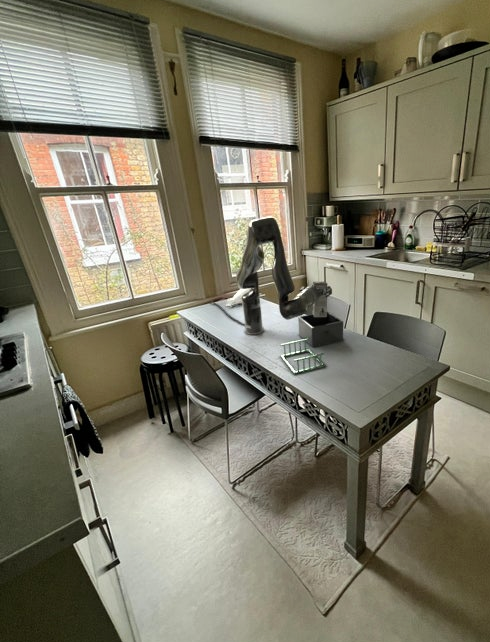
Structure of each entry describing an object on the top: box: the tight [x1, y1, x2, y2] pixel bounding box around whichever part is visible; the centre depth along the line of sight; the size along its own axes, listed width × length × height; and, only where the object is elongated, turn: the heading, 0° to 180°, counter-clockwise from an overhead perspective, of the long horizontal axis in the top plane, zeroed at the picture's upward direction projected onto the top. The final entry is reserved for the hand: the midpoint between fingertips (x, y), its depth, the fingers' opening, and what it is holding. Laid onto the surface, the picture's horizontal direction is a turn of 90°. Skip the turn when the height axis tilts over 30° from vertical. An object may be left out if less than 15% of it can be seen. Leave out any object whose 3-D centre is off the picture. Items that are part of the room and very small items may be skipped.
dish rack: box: [280, 338, 326, 375], centre depth 136 cm, size 17×14×6 cm
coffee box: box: [312, 281, 329, 317], centre depth 152 cm, size 9×6×16 cm
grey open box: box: [297, 310, 344, 348], centre depth 157 cm, size 17×17×10 cm
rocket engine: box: [225, 288, 251, 308], centre depth 213 cm, size 12×12×18 cm
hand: (320, 287), depth 150 cm, fingers closed on coffee box, 8 cm apart
